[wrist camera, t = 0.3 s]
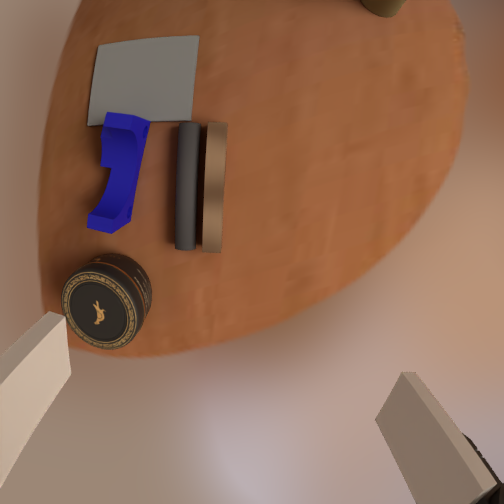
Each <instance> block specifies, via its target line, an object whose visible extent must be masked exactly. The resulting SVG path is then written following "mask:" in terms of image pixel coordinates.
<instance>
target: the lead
mask: <svg viewBox="0 0 504 504" xmlns="http://www.w3.org/2000/svg"><path fill="white" fill-rule="evenodd" d="M200 131H201V124H199V123H180V124H179V136H178V152H177V172H176V203H175V249H178V250H193V249H195V248H196V215H197V186H198V165H199V147H200Z"/></svg>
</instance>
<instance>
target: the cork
mask: <svg viewBox="0 0 504 504" xmlns="http://www.w3.org/2000/svg"><path fill="white" fill-rule="evenodd" d="M405 1H406V0H361V2H362V3H363V5H364V6H365V7H366V8H367V9H368V10H369V11H371V12H372V13H374V14H376V15H378V16H381V17H386V18H387V17H393V16H394V15H396V13H397V12H398V11H399V9H400V8H401V7H402V5H403V4H404V3H405Z"/></svg>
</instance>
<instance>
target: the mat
mask: <svg viewBox="0 0 504 504" xmlns="http://www.w3.org/2000/svg"><path fill="white" fill-rule="evenodd" d="M198 45H199V36H173V37H159V38H148V39H139V40H131V41H123V42H117V43H110V44H105V45H99V47H98V52H97V58H96V63H95V69H94V75H93V82H92V89H91V96H90V105H89V114H88V125H87V126H96V125H103V124H104V120H105V116H106V114H107V112H114V113H122V114H130V115H135V116H138V117H140V118H143V119H146V120H148V121H151V122H159V121H191V116H192V103H193V92H194V81H195V72H196V62H197V53H198Z"/></svg>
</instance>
